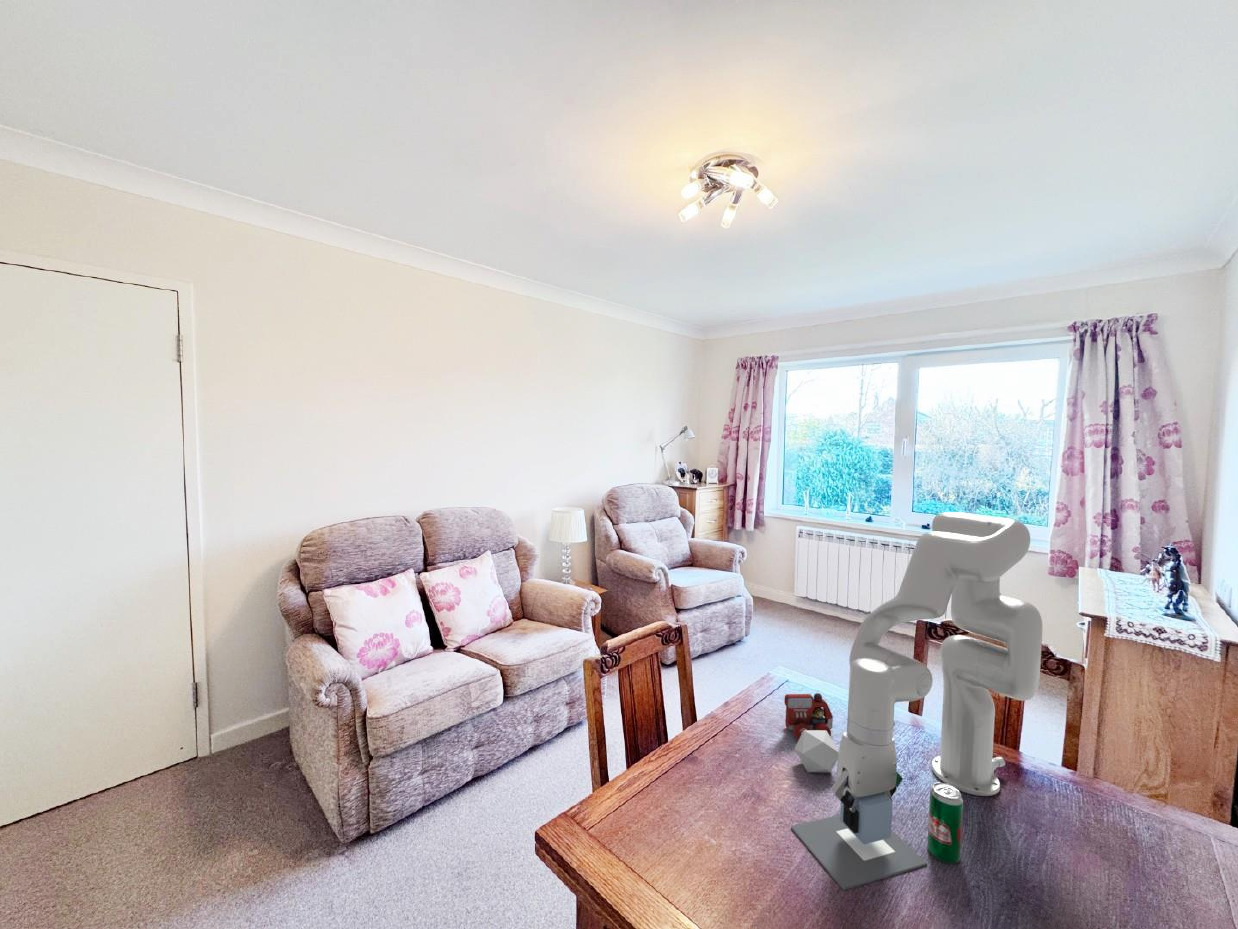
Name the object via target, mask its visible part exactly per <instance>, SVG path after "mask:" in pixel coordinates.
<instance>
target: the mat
mask: <svg viewBox="0 0 1238 929" xmlns="http://www.w3.org/2000/svg"><path fill="white" fill-rule="evenodd" d="M790 829H791V830H792V832H794V834H795V835H796V836H797V837H798V839H799V840H800V841H801V842H802V843H803V845H805V847H806V848H807V849H808V850H809V852H810V853H811V854H812V855H813V856H814V858H816V860H817V861H818V862H819V864H820V865H821V866H822V867H823V868H824V869H825V870H826V872H827V873H828V874H829V875H830V877H832V879H833V880H834V881H835V882H836V884H838V886H839V887H840V889H841V890H843V891H845V890H849V889H853V888H856V887H858V886H862V885H866V884H869V883H872V882H876V881H879V880H882V879H885V878H889V877H893V876H895V875H898V874H902V873H905V872H910V871H912V870H915V869H918V868H919V869H920V868H922V867H925V866H927V865H928V862H927V861H926V860H924V858H922V857H921V856H920V855H919V854H918V853H917V852H916V851H915V850H914V849H912V848H911V847H910V846H909V845H908V844H907V843H906V842H905V841H904V840H903V839H902V838H900V837H899V835H897V834H896V833H895V832H894V831H893V830H892V829H891V838H887V839H884V840H880V841H876V842H872V843H868V844H865V845H864V844H863V843H862V842H861V841H860V840H859V839H858V838H857V837H856V836H855V835H854V834H853V833H852V832H851V831H850V830H849V829H848V828H847V827H846V826H845V825H844V824H843V823H842V822H841V821H840V814H836V815H832V816H828V817H824V818H820V819H816V820H811V821H808V822H803V823H801V824H796V825H792V826H790Z"/></svg>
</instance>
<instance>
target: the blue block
mask: <svg viewBox="0 0 1238 929" xmlns="http://www.w3.org/2000/svg"><path fill="white" fill-rule="evenodd" d="M843 791H844V790H843ZM852 798H853V796H852V795H851V793H850V796H849V800H850V801H852ZM843 809H844V804H843V803H842V802H841V801H840V810H839V811H840V814H839V815H840V821H841V822H842V823H843V824H844V825H845V826H846V827H847V828H848V829H849V830H850V831H851V832H852V833H853V834H854V835H855V836H856V837H857V838H858V839H859V840H860V841H861V842H862V843H863V844H864V845H865V844H868V843H872V842H876V841H880V840H884V839H887V838H891V830H892V821H893V820H892V819H893V798H892V799H891V798H889V797H888V796H887V795H886V794H884V793H883V792H882V793H877V794H873V795H868V796H863V797H861V798H860V800H859V804H858V807H857V811H858V812H859V824H858V833H854V832H853V831H852V830H851V829H850V828H849V827H848V826H847V825H846V824H845V823H844V822H843Z"/></svg>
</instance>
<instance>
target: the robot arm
mask: <svg viewBox="0 0 1238 929" xmlns="http://www.w3.org/2000/svg"><path fill="white" fill-rule="evenodd" d="M931 526H932V529H931V530H932V531H929V532H925V533H923V534H921V536H920V537H918V539H917V540H916V541H917V542H916V544H915V546H914V549H913V551H912V553H911V554H912V555H911V557H910V560H909V562H908V566H906V567H907V568H906V570H905V572H904V576H903V578H902V582H901V584H900V585H899V590H898V592H897V594H896V595H895V596H894V597H893V598H891V599H890V600H888V601H886V602H884V603H882V604H880V605H879V606H878V607H877V608H875V609H874V610H873V611H872V612H871V613H869V614H868V615H867V616H866V617H865V619H863V621H862V622H861V624H860V626H859V628H858V629H857V633H856V635H855V638H854V641H853V643H852V645H851V649H850V653H849V658H848V661H849V678H848V679H849V680H848V681H849V682H848V700H847V704H848V705H847V724H846V731H845V732H843V734H842V736H841V740H840V745H839V749H838V750H839V754H838V760H837V762H836V763H837V764H836V773H835V774H836V775H835V779H836V780H835V782H834V783H833V785H832V786H831V787H830V790H829V791H830V792H831V793H832V794H833V795H834V796H835V797H836V798H837V799H838V800H839V801H840V803H841V802H842V803H843V804H844V809H843V822H844V823H845V824H846V825H847V826H848V827H849V828H850V829H851V830H852V831H853V832H854V833H858V824H859V812H858V811H857V807H858V804H859V800H860V798H861V797H863V796H868V795H873V794H877V793H882V792H883V793H884V794H886V795H887V796H888V797H889V798H891V799H892V800H893V796H894V794H895V793H896V792H897V788H898V787H899V786H900V784H901V783H902V782H903V777H902V776H901V774H900V773H899V772H898V771H897V770H898V768H897V766H898V765H897V749H896V744H895V743H896V742H895V739H894V727H895V726H896V722H895V720H894V718H895V717H894V716H895V705H896V703H903V702H904V703H906V702H914V701H915V702H916V701H919V700H921V699H923V698H925V697H926V696H927V695H928V694H929V693H930V692H931V689H932V687H933V682H934V680H933V675H932V673H931V670H930V668H928V666H927V665H926V664H924V663H923V662H921V661H919V660H918V659H915V658H913V657H910V656H907V655H905V654H902V653H899V652H897V651H895V650H892V649H890V648H886V647H883V646H881V645H880V643H881V641H882V640H883V637H884V636H885V635H886V633H887V632H888V631H890V630H891V629H892V628H894V627H896V626H897V625H901V624H905V623H907V622H914V621H921V620H922V621H923V620H933V619H938V618H941V617H943V616H944V615H945V614H946V611H947V609H948V605H949V602H951V603H950V615H951V616H950V617H951V621H952V623H953V624H954V626H956V627H957V628H958V629H960V630H963V631H965V632H968V633H971V634H974V635H977V636H979V637H980V636H981V637H983V638H988V639H990V640H994V641H997V642H1000V643H1003V644H1005V646H1006V647H1004V646H1001V645H997V644H994V643H991V642H988V641H985V640H982V639H979V638H975V637H972V636H969V635H964V634H963V635H962V634H955V635H953V634H952V635H950V636H948V637H946V638H944V640H943V641H942V643H941V644H940V650H939V658H940V665H941V672H942V680H943V684H942V686H943V687H942V689H943V690H942V691H943V692H942V694H943V695H942V714H941V732H940V735H941V736H940V750H939V751H940V752H939V753H940V755H938V756H936V757H934V758H933V759H932V760H931V770H932V772H933V773H934V774H935V776H936V777H938V779H939V780H941V781H942V783H945V784H948V785H951V786H953V787H954V788H956V789H957V790H958V791H959V792H960V791H961V792H962V793H966V794H969V795H974V796H979V797H980V796H981V797H989V796H994V795H997V794H998V793H999V792H1000V789H1001V783H1000V780H999V779H998V777H997V776H996V775H995V774H994V773H995V772H994V771H995V770H997V768H1001V767H1004V766H1006V761H1005V759H1004V758H1003V757H1002V756H996V757H993V756H994V755H993V752H994V735H995V717H996V707H995V703H994V699H993V697H992V695H991V693H990V692H991V691H992V692H993V693H996V694H1000V695H1002V696H1005V697H1008V698H1011V699H1013V700H1016V701H1021V702H1022V701H1023V702H1024V701H1025V702H1026V701H1029V700H1032V699H1033V698H1034V697H1035V695H1036V693H1037V692H1038V687H1039V684H1040V676H1041V660H1042V646H1043V645H1042V644H1043V619H1042V616H1041V613H1040V611H1039V610H1038V609H1037V607H1036V606H1035V605H1033V604H1032V603H1031V602H1028V601H1025V600H1022V599H1018V598H1015V597H1009V596H1005V595H1002V594H1001V591H1000V590H1001V589H1000V584H1001V583H1000V581H1001V577H1002V576H1003V575H1004V574H1006V573H1007V572H1008V571H1009V570H1010V569H1012V568H1013V567H1014V566H1015V565H1017V564H1018V563H1019V562H1021V560H1022V559H1024V557H1025V555H1026V554H1027V553H1028V551H1029V548H1030V544H1031V534H1030V531H1029V528H1028V527H1027V526H1026V525H1025V524H1024V523H1023V522H1021V521H1019V520H1016V519H1013V518H1005V517H998V516H990V515H982V514H975V513H968V512H967V513H966V512H958V511H957V512H955V511H946V512H945V511H944V512H941V513H938V514H936V515H935V516H934V517H933V519H932V523H931ZM989 691H990V692H989ZM843 790H844V791H843ZM850 793H851V795H852V796H853V798H852V801H850V800H849V796H850Z"/></svg>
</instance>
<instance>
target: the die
mask: <svg viewBox="0 0 1238 929" xmlns="http://www.w3.org/2000/svg"><path fill="white" fill-rule="evenodd" d="M794 750H795V752H796V754H797V755H798V757H799V759H800V761H801V763H802V765H803V767H804V768H805V770H806V772H807V773H831V772H832V771H833V769H834V767H835V765H837V764H836V763H837V761H838V754H839V749H838V747H837V746H836V744H835V741H833V739H832V736H831V737H830V736H829V734H828V732H827V731H826V730H804V731H803V733H802V735H801V737H800V739H799V740H797V742H796V745H795V747H794Z"/></svg>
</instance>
